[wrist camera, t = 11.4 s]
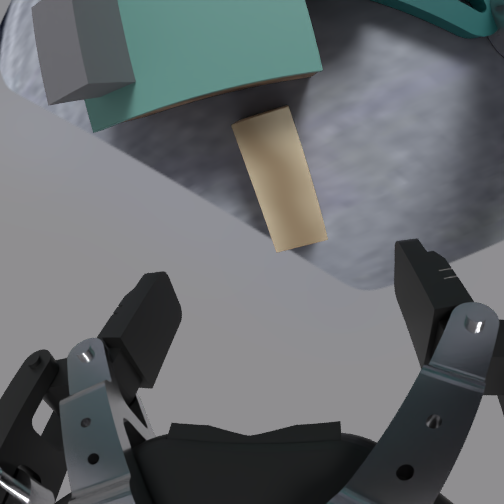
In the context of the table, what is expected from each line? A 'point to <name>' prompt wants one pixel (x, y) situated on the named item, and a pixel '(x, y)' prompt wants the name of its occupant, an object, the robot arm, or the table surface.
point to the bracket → (451, 15)
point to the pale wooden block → (281, 178)
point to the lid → (166, 50)
